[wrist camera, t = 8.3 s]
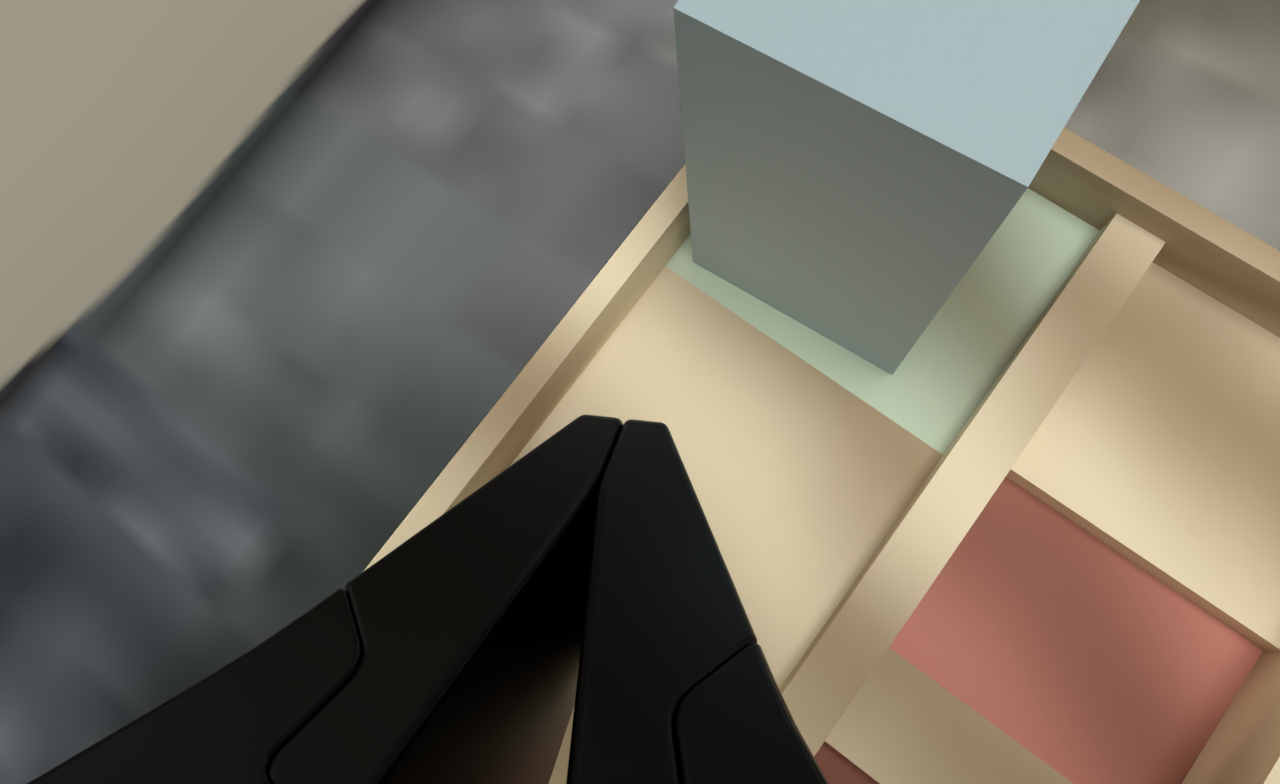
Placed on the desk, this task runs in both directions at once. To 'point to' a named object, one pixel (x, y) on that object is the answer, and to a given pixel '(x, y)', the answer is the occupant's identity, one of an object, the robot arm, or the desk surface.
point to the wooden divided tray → (972, 487)
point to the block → (871, 145)
